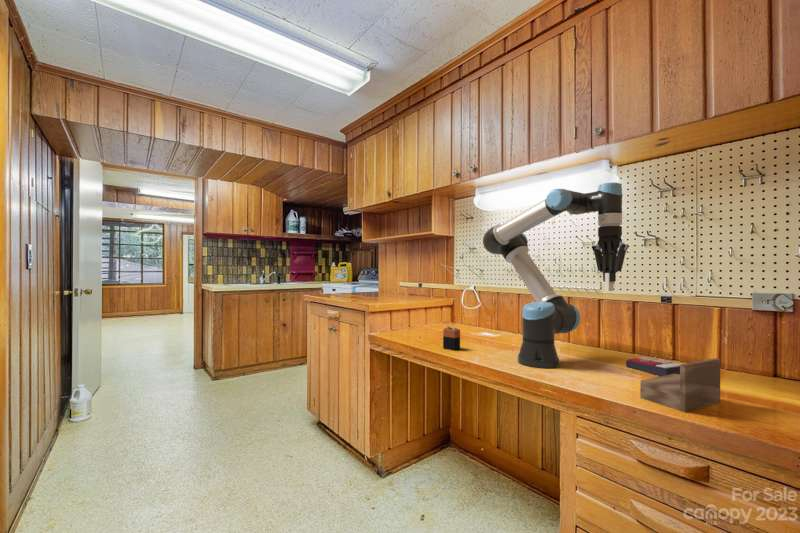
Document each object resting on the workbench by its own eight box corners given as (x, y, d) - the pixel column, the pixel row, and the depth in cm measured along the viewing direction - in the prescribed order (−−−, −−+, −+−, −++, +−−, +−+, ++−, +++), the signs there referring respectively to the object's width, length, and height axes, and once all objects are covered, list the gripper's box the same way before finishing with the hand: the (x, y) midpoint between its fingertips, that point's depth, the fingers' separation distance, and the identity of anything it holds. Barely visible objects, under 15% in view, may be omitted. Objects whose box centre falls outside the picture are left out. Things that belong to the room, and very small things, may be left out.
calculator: (645, 355, 138) (688, 363, 124) (645, 367, 138) (688, 376, 124) (625, 358, 134) (666, 366, 120) (625, 369, 134) (667, 379, 120)
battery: (448, 347, 166) (448, 325, 166) (460, 349, 162) (460, 327, 162) (442, 348, 163) (442, 326, 163) (455, 350, 158) (455, 328, 158)
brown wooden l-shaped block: (640, 397, 102) (640, 355, 102) (675, 389, 109) (675, 350, 109) (685, 412, 92) (685, 365, 92) (720, 402, 99) (720, 359, 99)
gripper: (586, 227, 134) (586, 289, 134) (620, 223, 122) (619, 292, 122) (600, 228, 137) (599, 289, 137) (634, 224, 125) (633, 291, 125)
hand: (609, 290), depth 129 cm, fingers closed
